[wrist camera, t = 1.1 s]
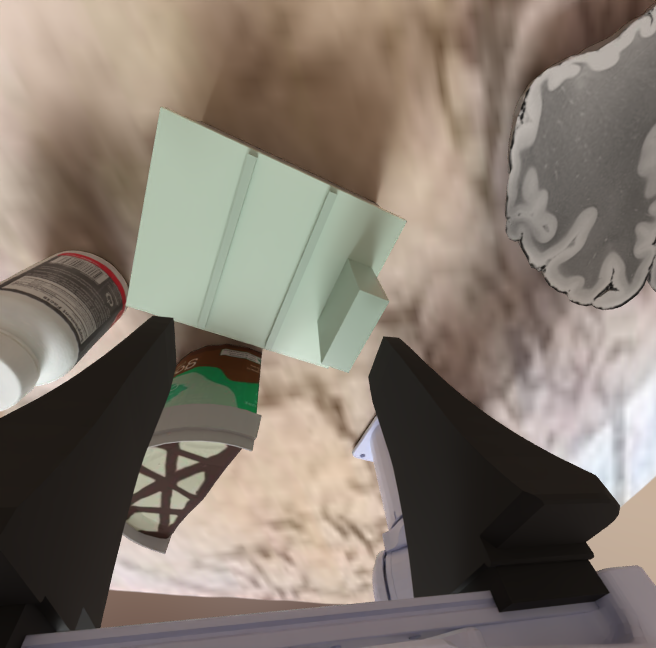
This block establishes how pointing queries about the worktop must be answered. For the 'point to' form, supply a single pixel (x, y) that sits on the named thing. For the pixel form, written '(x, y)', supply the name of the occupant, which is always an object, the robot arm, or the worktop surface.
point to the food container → (194, 439)
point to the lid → (257, 248)
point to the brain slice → (589, 169)
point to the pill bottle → (54, 318)
